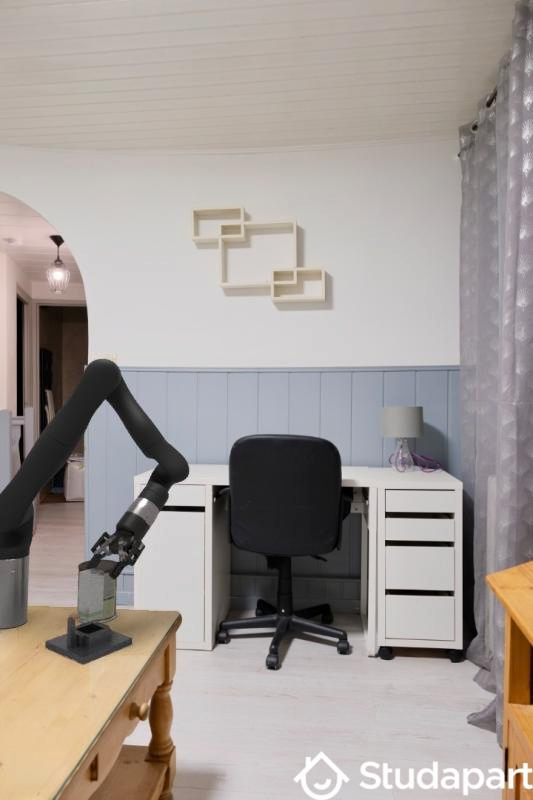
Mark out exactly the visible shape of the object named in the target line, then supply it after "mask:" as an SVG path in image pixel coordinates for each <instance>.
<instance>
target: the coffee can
mask: <svg viewBox="0 0 533 800" xmlns="http://www.w3.org/2000/svg"><path fill="white" fill-rule="evenodd" d="M89 561H90V560H86V561H82V562H81V563H79V564H78V565H77V570H78V576H77V577H78V579H77V598H78V597H79V572H80V571H84V570H87V569H86V566H87V564H88V563H89ZM116 562H117V561H115V560H111V559H101V562H100V563H99V564H98V566H97V567H96V569H98V570H101V571H104V591H103V617H102V618H99V619H96V620H93V621H92V622H94V623H95V622H100V623H102V624H105V623H108V622H110V621H113V620H114V619H115V618H116V617H117V597H118V595H117V592H118V591H117V590H118V589H117V588H118V577H117V578H116V579H115V580H114V579H112V578H111V577H110V576H109V572H110V571H111V570H112V568H113V567H114V565H115V564H116ZM76 614H78V605H77V611H76ZM76 621H78V622H80V623H81V624H83V623H86V622H87V621H85V620H82V619H77V620H76Z"/></svg>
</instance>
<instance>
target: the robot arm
mask: <svg viewBox="0 0 533 800" xmlns="http://www.w3.org/2000/svg"><path fill="white" fill-rule="evenodd" d="M105 401H106V402H107V403H108V404H109V405H110V406H111V408H112V409H113V410H114V412H115V413H116V414H117V416H118V417H119V419H120V421H121V422H122V423H121V424H123V426H124V428H125V430H126V431H127V433H128V434H129V437H130V438H132V440H133V442H134V443H135V444H136V446H137V447H138V448H139V450H140V451H141V453H142V454H143V456H145V458H147V459H151V460H154V461H155V462H156V463H157V465H156V467H155V468H154V469H153V471H152V472H151V474H150V476H149V479H148V481H147V483H146V485H145V486H144V488H143V489H142V491H141V492H140V493H139V494H138V496H137V497H136V498H135V499H134V501H132V503H131V504H130V505H129V506H128V507H127V509H126V511H125V512H124V514H123V515H122V516H121V518H120V519H119V520H118V522H117V523H116V524H115V531H114V532H113V534H110V533H108V531H104V532H103V533H102V534H101V536H100V537H99V538H98V539H97V541H96V542H95V543H94V544H93V546H92V547H91V548H90V551H91V553H92V554H93V556H92V557H91V559H90V560H88V561H89V563H88V564H87V566H86V569H87V570H88V569H92V568H94V569H96V567H97V566H98V564H99V563H100V562H101V560H104V559H105V558H106V557H110V556H112V555H118V561H116V564H115V565H114V567H113V568H112V570H111V571H110V572H109V576H110V577H111V578H112V579H114V580H115V579H116V578H117V579H118V578H119V576H120V575H121V574H122V571H124V569H125V568H127V567H128V566H131V567H133V566H135V564H136V563H137V561H138V560H139V558H140V557H141V555H142V553H143V551H144V550H145V548H146V545H145V544H144V542H143V539H144V537H145V536H146V535H147V533H148V532H149V530H150V529H151V527H152V526H153V524H154V523H155V522H156V520H157V518H158V516H159V514H160V512H161V511H162V509H163V508H164V506H165V505H166V503H167V502H168V501H169V500H168V499H170V498H169V497H170V493H169V492H170V490H171V488H172V486H174V484H179V483H182V482H184V481H185V480H187V478H188V477H189V476H190V465H189V463H188V461H187V459H186V458H185V456H184V455H183V454H182V453H181V452H179V451H178V450H177V449H176V448H175V447H174V446H173V445H172V444H171V443H169V442H168V441H167V440H166V438H165V436H164V435H163V434H162V432H161V431H160V430H159V428H158V427H157V425H156V424H155V423H154V422H153V420H152V419H151V418H150V417H149V415H148V414H147V413H146V411H144V409H143V408H142V407H141V405H140V404H139V403H138V402H137V400H136V399H135V397H134V395H133V394H132V393H131V390H130V389H129V387H128V385H127V383H126V381H125V379H124V377H123V375H122V371H121V369H120V366H118V365H117V363H115V362H114V361H113V360H111V359H108V358H98V359H93V360H92V361H91V362H89V363H88V365H86V367H85V369H84V370H83V373H82V375H81V377H80V379H79V381H78V383H77V384H76V387H75V388H74V390H73V392H72V393H71V395H70V397H69V398H68V399H67V401H66V402H65V403H64V404H63V406H61V408H60V409H59V410H58V411H57V412H56V413H55V415H54V416H53V417H52V418H51V420H50V421H49V422H48V424H47V425H46V426H45V428H44V429H43V430H42V432H41V433H40V435H39V436H38V438H37V439H36V441H35V443H34V444H33V446H32V447H31V448H30V451H29V452H28V453H27V455H26V456H25V458H24V460H23V462H22V464H21V465H20V467H19V468H18V471H17V472H16V473H15V475H14V476H13V477H12V479H11V480H10V481H9V482H8V484H7V485H6V486H5V487H4V489H3V490H1V491H0V630H1V629H11V628H16V627H19V626H22V625H23V624H25V623H27V621H28V610H29V609H28V606H29V583H30V582H29V580H30V578H29V577H30V575H29V574H30V554H31V553H30V552H31V551H30V550H31V544H32V542H33V537H34V536H33V534H34V522H35V521H34V520H35V507H34V503H33V502H34V501H35V499H36V497H37V496H38V494H39V493H40V491H41V490H42V489H43V487H45V485H47V483H49V482H50V480H51V479H52V478H53V477H54V476H55V475H56V474H57V473H58V472H59V471H60V470H61V469H62V467H64V465H65V464H66V462H68V460H69V459H70V457H71V456H72V454H73V453H74V452H75V450H76V449H77V447H78V445H79V444H80V442H81V440H82V438H83V437H84V435H85V432H86V431H87V429H88V426H89V425H90V422H91V421H92V418H93V416H94V415H95V413H96V412H97V410H98V409H99V408H100V407H101V406H102V405H103V403H104V402H105ZM98 547H99V548H98Z"/></svg>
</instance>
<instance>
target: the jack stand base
mask: <svg viewBox="0 0 533 800" xmlns="http://www.w3.org/2000/svg"><path fill="white" fill-rule="evenodd" d="M77 619H80V615H79V614H77V612H76V613H73V614H69V615H68V617H67V627H66V632H67V633H66V634H62V635H58V636H57V637H54V638H51V639H47V640H45V645H44V648H45V647H46V648H45V649H47V648H48V650H50V651H51V652H52V651H53V652H54V653H56V654H59V655H61V656H63V657H65V656H66V658H67V657H68V658H67V659H69V660H72V659H73V660H72V661H74V660H75V662H76V661H77V662H76V663H79V664H81V665H85V664H87V662H88V663H90V662H92V660H93V661H95V660H97V659H100V658H103V657H104V656H107V655H109V654H112V653H114V651H115V652H116V651H120V650H121V649H122V650H123V649H124V648H126V647H129V646H131V644H132V645H133V637H131V636H129V635H126V634H123V633H120V632H119V631H118V632H117V631H115V630H113V629H112V628H111V626H109V625H108V624H105V623H100V622H95V623H94V622H92V621H90V622H86V623H80V624H78V625H77V624H76V621H78V620H77Z"/></svg>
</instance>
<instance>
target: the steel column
mask: <svg viewBox="0 0 533 800" xmlns="http://www.w3.org/2000/svg"><path fill="white" fill-rule="evenodd" d="M78 573H79V597H78V596H77V606H78V614H79V615H80V619H82V620H85V621H87V622H90V621H93V620H96V619H99V618H102V617H103V591H104V571H101V570H98V569H94V568H92V569H88V570H84V571H80V572H78Z"/></svg>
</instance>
